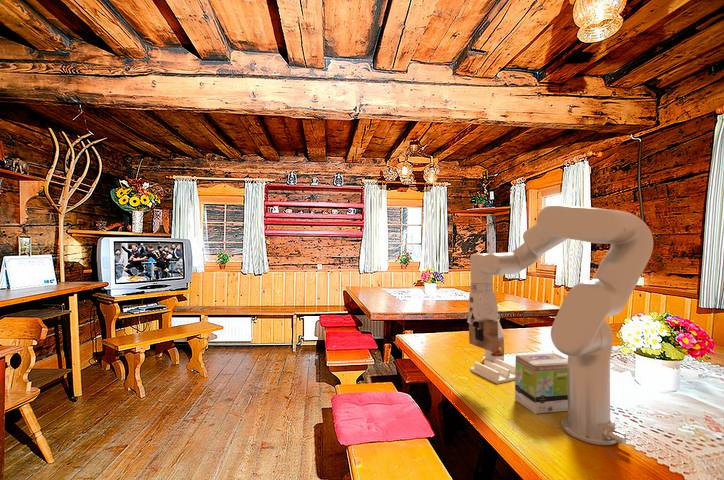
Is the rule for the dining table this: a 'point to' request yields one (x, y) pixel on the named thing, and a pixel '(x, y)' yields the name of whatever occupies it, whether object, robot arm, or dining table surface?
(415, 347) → the dining table surface
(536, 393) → the tea box
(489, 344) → the walnut board
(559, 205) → the robot arm
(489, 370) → the rack
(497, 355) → the milk bottle
